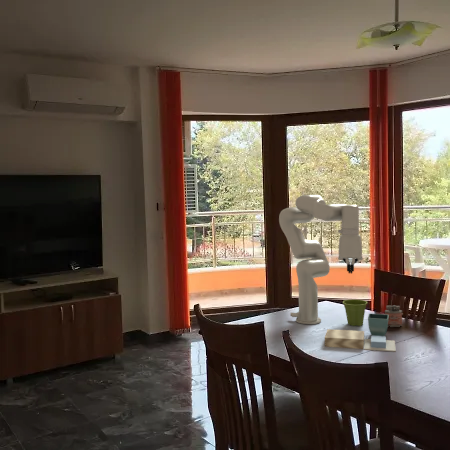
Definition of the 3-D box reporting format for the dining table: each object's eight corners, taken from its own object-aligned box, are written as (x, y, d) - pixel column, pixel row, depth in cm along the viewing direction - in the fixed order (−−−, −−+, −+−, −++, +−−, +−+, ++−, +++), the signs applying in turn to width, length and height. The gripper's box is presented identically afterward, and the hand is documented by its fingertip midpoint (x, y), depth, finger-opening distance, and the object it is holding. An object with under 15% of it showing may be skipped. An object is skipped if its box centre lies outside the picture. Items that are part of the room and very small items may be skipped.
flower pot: (388, 333, 235) (388, 314, 234) (388, 339, 226) (388, 319, 226) (369, 332, 237) (368, 313, 237) (367, 337, 229) (367, 317, 228)
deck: (324, 346, 218) (324, 337, 217) (327, 337, 230) (327, 329, 230) (363, 349, 213) (363, 339, 213) (364, 340, 225) (364, 331, 225)
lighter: (401, 324, 248) (401, 304, 248) (402, 326, 245) (402, 306, 244) (384, 324, 249) (384, 304, 248) (385, 326, 246) (385, 306, 245)
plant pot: (345, 320, 259) (345, 298, 258) (369, 322, 254) (369, 300, 253) (340, 326, 249) (340, 303, 248) (365, 328, 243) (365, 305, 243)
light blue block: (386, 342, 212) (386, 348, 212) (385, 336, 221) (385, 341, 221) (371, 341, 214) (371, 347, 214) (371, 335, 222) (371, 341, 223)
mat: (364, 349, 212) (364, 348, 212) (364, 339, 226) (364, 338, 226) (395, 351, 209) (395, 350, 209) (394, 341, 222) (394, 340, 222)
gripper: (332, 233, 227) (332, 274, 228) (367, 233, 222) (367, 274, 224) (333, 231, 234) (334, 271, 235) (367, 231, 230) (367, 272, 231)
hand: (350, 272), depth 229 cm, fingers closed
